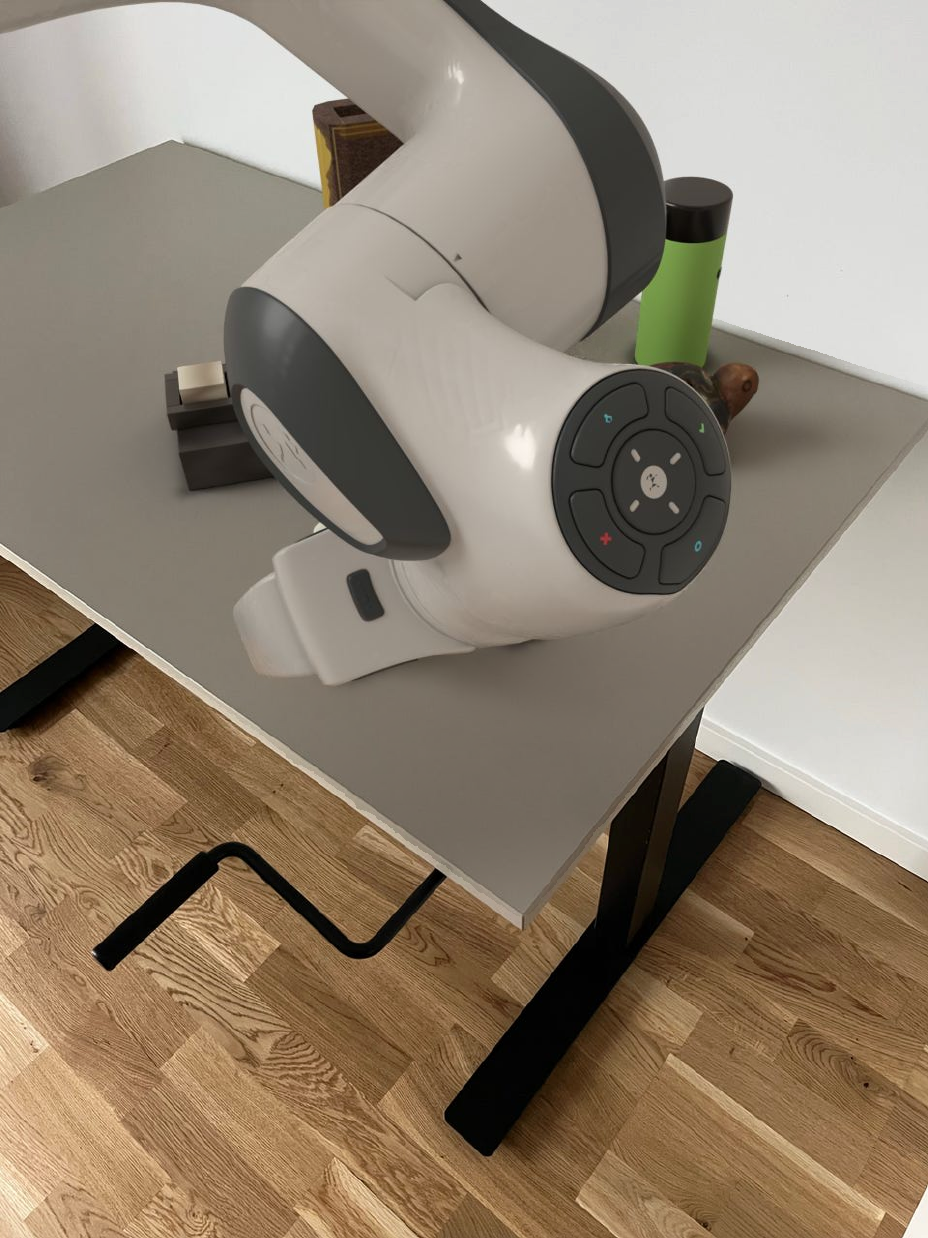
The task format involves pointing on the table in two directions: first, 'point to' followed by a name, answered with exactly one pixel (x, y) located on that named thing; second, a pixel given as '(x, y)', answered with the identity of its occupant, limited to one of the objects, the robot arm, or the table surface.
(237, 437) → the black rectangular block
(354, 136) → the book
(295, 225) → the table surface
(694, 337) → the tumbler
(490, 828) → the table surface
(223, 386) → the square beige tile
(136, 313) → the table surface
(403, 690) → the table surface
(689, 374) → the decorative turtle
